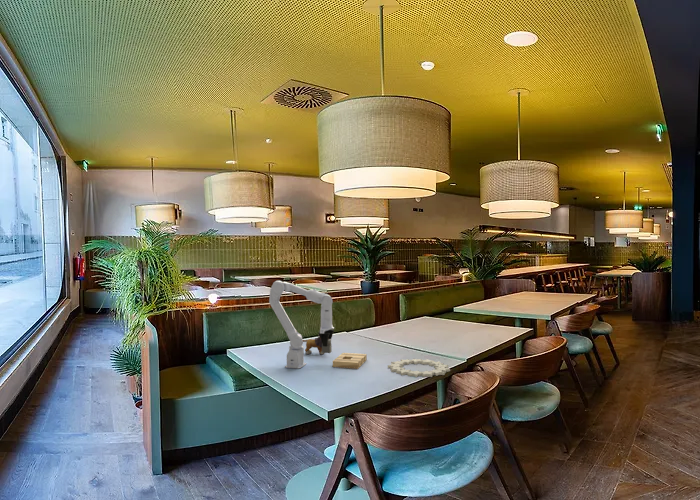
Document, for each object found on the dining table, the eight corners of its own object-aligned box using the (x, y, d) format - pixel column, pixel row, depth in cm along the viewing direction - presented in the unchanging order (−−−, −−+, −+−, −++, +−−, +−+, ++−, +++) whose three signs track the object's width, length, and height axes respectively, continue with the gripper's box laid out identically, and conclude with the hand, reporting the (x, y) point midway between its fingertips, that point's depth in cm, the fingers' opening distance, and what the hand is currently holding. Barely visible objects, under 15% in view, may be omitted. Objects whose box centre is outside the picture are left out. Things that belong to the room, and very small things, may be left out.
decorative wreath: (448, 362, 229) (390, 360, 234) (448, 359, 229) (390, 357, 234) (451, 379, 200) (385, 376, 205) (451, 376, 200) (384, 373, 205)
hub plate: (357, 368, 217) (357, 362, 217) (332, 367, 221) (332, 360, 221) (366, 359, 235) (366, 353, 234) (343, 358, 238) (343, 352, 238)
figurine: (331, 356, 243) (331, 328, 243) (294, 354, 248) (293, 327, 247) (334, 353, 250) (334, 326, 250) (298, 351, 254) (297, 325, 254)
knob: (329, 353, 223) (329, 340, 223) (320, 353, 224) (320, 339, 224) (332, 351, 227) (332, 338, 227) (323, 350, 229) (323, 337, 229)
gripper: (329, 321, 218) (329, 348, 218) (338, 316, 232) (338, 342, 232) (315, 320, 220) (315, 347, 220) (325, 316, 233) (325, 341, 234)
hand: (326, 345), depth 226 cm, fingers closed on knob, 5 cm apart
